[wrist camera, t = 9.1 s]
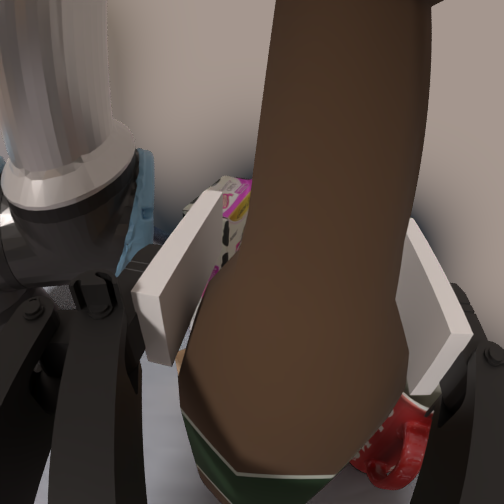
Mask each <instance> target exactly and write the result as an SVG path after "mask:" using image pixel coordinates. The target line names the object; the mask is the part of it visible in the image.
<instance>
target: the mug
mask: <svg viewBox="0 0 504 504" xmlns="http://www.w3.org/2000/svg"><path fill="white" fill-rule="evenodd" d="M441 394H442V392H441V388H440V384H438V386H437V387H436V388H435V390H434V391H433V392H432V393H431V395H410V394H409V388H408V382H407V378H406V386H405V390H404V391H403V393H402V395H401V397H400V398H399V400H398V402H397V403H396V405H395V407H394V408H393V410H392V412H391V413H390V415H389V416H388V418H387V419H386V420H385V422H384V423H383V424H382V425H381V426H380V428H379V429H378V430H377V431H376V432H375V434H374V435H373V436H372V437H371V438H370V439H369V441H368V442H367V443H366V444H365V445H364V446H363V447H362V448H361V450H360V451H359V452H358V453H357V454H356V455H355V456H354V457H353V458H352V459H351V460H350V461H349V462H350V463H351V464H352V465H353V466H354V467H355V468H357V469H358V470H360V471H362V472H364V473H367V475H368V478H369V480H370V481H371V483H372V484H373V485H374V486H376V487H378V488H381V489H387V490H398V489H401V488H403V487H405V486H406V485H408V484H409V483H410V482H411V481H412V480H413V479H414V478H415V477H416V475H417V474H418V473H419V471H420V469H421V465H422V462H423V458H424V454H425V450H426V446H427V441H428V437H429V432H430V428H431V423H432V419H431V418H432V417H433V412H434V410H433V411H432V412H431V414H430V415H429V416H428V417H427V418H426V417H424V415H425V413H426V411H427V410H428V409H429V408H430V407H431V406H432V404H433V403H434V402H435V401H436V400H437V398H438V397H439V396H440V395H441ZM388 472H391V473H390V474H389V475H388V476H387V474H386V473H388Z"/></svg>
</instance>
